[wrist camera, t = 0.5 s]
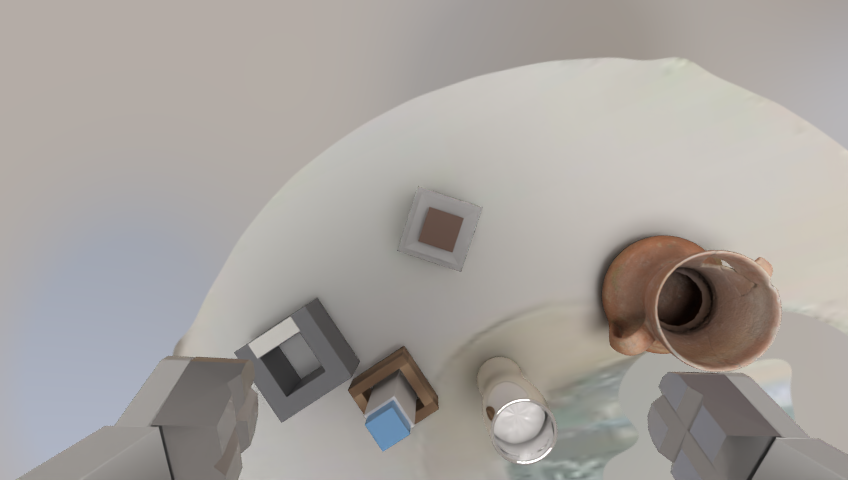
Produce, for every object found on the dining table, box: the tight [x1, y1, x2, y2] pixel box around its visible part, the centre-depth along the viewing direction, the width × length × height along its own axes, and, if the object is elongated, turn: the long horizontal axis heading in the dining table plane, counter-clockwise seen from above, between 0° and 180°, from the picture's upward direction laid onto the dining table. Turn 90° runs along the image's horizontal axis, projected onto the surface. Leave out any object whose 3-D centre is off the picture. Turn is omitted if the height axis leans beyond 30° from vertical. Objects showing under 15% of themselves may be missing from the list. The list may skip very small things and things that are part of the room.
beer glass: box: [477, 357, 558, 465], centre depth 51 cm, size 7×7×15 cm
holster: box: [348, 346, 439, 424], centre depth 57 cm, size 8×8×4 cm
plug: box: [364, 368, 417, 451], centre depth 53 cm, size 4×4×12 cm
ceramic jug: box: [602, 236, 782, 372], centre depth 51 cm, size 18×14×14 cm
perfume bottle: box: [397, 186, 483, 272], centre depth 49 cm, size 7×7×18 cm
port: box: [234, 298, 360, 423], centre depth 56 cm, size 10×10×6 cm
